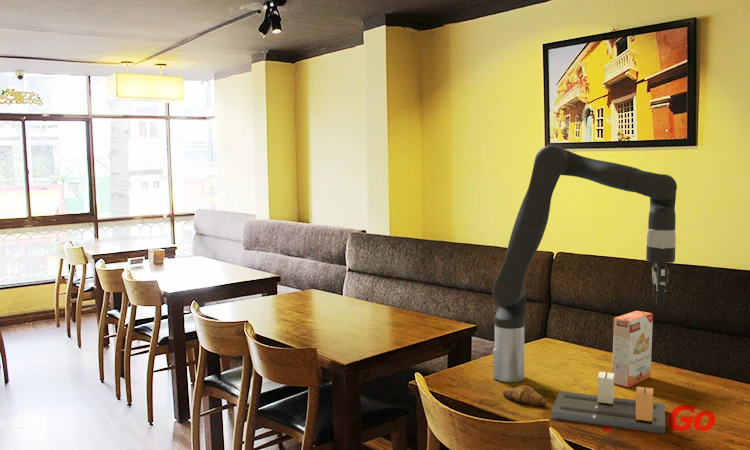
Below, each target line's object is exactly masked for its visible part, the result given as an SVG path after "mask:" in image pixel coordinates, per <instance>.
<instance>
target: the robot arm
mask: <svg viewBox="0 0 750 450" xmlns="http://www.w3.org/2000/svg"><path fill="white" fill-rule="evenodd" d="M561 176H567V177H568V176H569V177H576V178H581V179H585V180H588V181H591V182H594V183H597V184H600V185H603V186H606V187H609V188H613V189H617V190H620V191H625V192H630V193H637V194H639V195H642V196H645V197H649V207H650V208H649V212H648V225H647V229H648V230H647V234H646V251H645V252H646V254H645V256H646V257H645V260H646V261H648V262H649V263H652V266H651V273H652V274H651V280H652V285H653V289H652V290H653V291H652V292H653V293H652V297H653V298H655V299H656V301H655V302H656V304H657V305H660V306H661V305H665V304H666V293H667V291H668V289H669V288H668V284H669V283H668V282H669V269H668V267H667V264H671V263H674V262H676V241H677V240H676V239H677V235H676V234H677V233H676V221H677V220H676V219H677V218H676V201H677V200H676V199H677V189H678V185H677V182H676V180H675V178H674V177H672V175H669V174H664V173H662V174H661V173H655V172H651V171H645V170H642V169H640V168H637V167H633V166H629V165H626V164H621V163H617V162H610V161H605V160H600V159H599V160H598V159H594V158H590V157H587V156H582V155H580V154H576V153H574V152H572V151H570V150H568V149H565V148H564V147H562V146H560V145H556V144H552V145H551V144H549V145H545V146H543V147H542V148H540V149H539V150H538V151H537V153H536V155H535V158H534V162H533V167H532V171H531V177H530V180H529V184H528V188H527V190H526V192H525V195H524V197H523V199H522V202H521V205H520V207H519V210H518V212H517V215H516V219H515V221H514V225H513V227H512V230H511V235H510V237H509V241H508V245H507V250H506V253H505V256H504V257H505V258H504V260H503V263H502V265H501V268H500V269H499V273H498V275H497V277H496V279H495V280H494V283H493V285H492V288H491V292H492V293H491V294H492V296H493V297H492V298H493V300H494V301H495V302H496V311H495V315H494V348H493V349H492V365H493V366H492V367H493V368H492V379H493V380H497V381H500V382H504V383H519V382H523V381H524V380H525V319H526V315H527V313H526V312H527V285H526V282H525V280H524V279H525V276H526V272H527V269H528V267H529V265H530V263H531V261H532V260H533V257H534V256H535V254H536V252H537V251H538V248H539V246H540V244H541V242H542V239H543V237H544V234H545V233H546V232H545V231H546V228H547V225H548V221H549V216H550V210H551V202H552V198H553V193H554V190H555V188H556V186H557V184H558V181H559V180H560V177H561Z"/></svg>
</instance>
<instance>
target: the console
mask: <svg viewBox="0 0 750 450" xmlns="http://www.w3.org/2000/svg"><path fill="white" fill-rule="evenodd" d="M597 400H598V395H596V394H595V395H594V394H587V393H586V394H585V393H579V392H570V391H569V392H568V391H560V390H559V391H558V394H557V397H556V399H555V401H554V403H553V405H552V409H551V412H550V419H552V420H560V421H566V422H567V421H568V422H573V423H574V422H575V423H582V424H588V425H598V426H603V427H611V428H618V429H625V430H635V431H641V432H648V433H656V434H662V435H664V434H666V408H665V407H666V406H665V405H666V404H665V403H661V402H654V401H653V421H644V420H636V399H628V398H620V397H614V400H613V404H610V403H602V402H597Z"/></svg>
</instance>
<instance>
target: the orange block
mask: <svg viewBox="0 0 750 450" xmlns="http://www.w3.org/2000/svg"><path fill="white" fill-rule="evenodd" d="M635 400H636V420H644V421H653V402H654V388H653V387H646V386H644V387H643V386H636V390H635Z"/></svg>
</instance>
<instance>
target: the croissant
mask: <svg viewBox="0 0 750 450" xmlns="http://www.w3.org/2000/svg"><path fill="white" fill-rule="evenodd" d="M502 395H503V396H504V397H505V398H506V399H509V400H512V401H515V402H517V403H518V404H519V403H520V404H525V405H531V406H536V407H546V404H547V402H546V399H545V398H544V397H543V396H542V395H541V394H540V393H538V392H537V391H536V390H535V389H534V388H533V387H531V386H528V385H525V384H523V385H519V386H517V387H509V388H506V389H504V390H503V392H502Z"/></svg>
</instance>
